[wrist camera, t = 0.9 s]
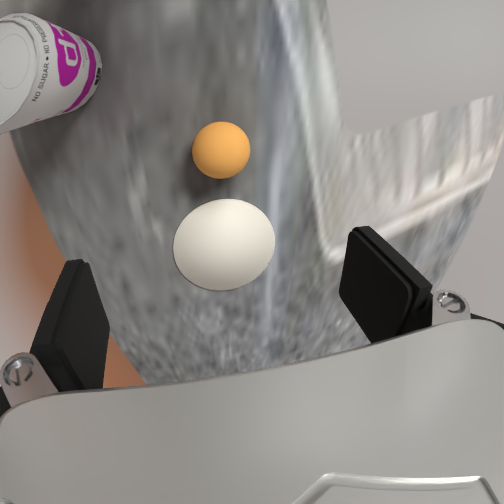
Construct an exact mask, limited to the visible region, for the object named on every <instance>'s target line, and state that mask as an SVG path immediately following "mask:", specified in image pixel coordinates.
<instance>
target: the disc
mask: <svg viewBox="0 0 504 504" xmlns="http://www.w3.org/2000/svg"><path fill="white" fill-rule="evenodd" d="M274 247H275V236H274V231H273V228H272V226H271V224H270V222H269V220H268V218H267V217H266V216H265V215H264V213H262V212H261V211H260V210H259V209H258V208H256V207H255V206H253V205H251V204H249V203H247V202H244V201H241V200H236V199H219V200H214V201H211V202H207V203H205V204H203V205H201V206H199V207H197V208H196V209H194V210H193V211H192V212H190V213H189V214H188V215H187V216H186V217H185V218H184V220H183V221H182V222H181V224H180V225H179V227H178V229H177V232H176V234H175V238H174V243H173V252H174V258H175V262H176V264H177V267H178V268H179V270H180V272H181V273H182V274H183V275H184V276H185V277H186V278H187V279H188V280H189V281H191V282H192V283H194V284H195V285H197V286H199V287H202V288H205V289H209V290H217V291H223V290H231V289H235V288H239V287H241V286H244V285H246V284H248V283H249V282H251V281H253V280H254V279H255V278H257V277H258V276H259V275H260V274H261V273H262V272H263V271H264V270H265V268H266V267H267V265H268V264H269V262H270V260H271V258H272V255H273V252H274Z"/></svg>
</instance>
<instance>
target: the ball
mask: <svg viewBox="0 0 504 504" xmlns="http://www.w3.org/2000/svg"><path fill="white" fill-rule="evenodd" d="M192 156H193V160H194V162H195V164H196V166H197V167H198V168H199V170H200V171H201V172H203V173H204V174H206V175H208V176H210V177H212V178H218V179H224V178H229V177H232V176H234V175H236V174H237V173H239V172H240V171H241V170H242V169H243V168H244V167H245V165H246V164H247V162H248V159H249V156H250V144H249V140H248V138H247V136H246V134H245V133H244V132H243V131H242V130H241V129H240V128H239V127H238V126H236V125H234V124H232V123H228V122H215V123H211V124H209V125H207V126H205V127H204V128H203V129H201V130H200V131H199V133H198V134H197V135H196V137H195V139H194V141H193V145H192Z"/></svg>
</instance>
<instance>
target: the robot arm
mask: <svg viewBox="0 0 504 504" xmlns="http://www.w3.org/2000/svg"><path fill="white" fill-rule="evenodd" d="M432 286H433V285H432V284H431V283H430V282H429V281H428V280H427V279H426V278H425V277H423V276H422V275H421V274H420V273H419V272H418V271H417V270H416V269H415V268H414V267H413V266H412V265H411V264H410V263H409V262H408V261H407V260H406V259H405V258H404V257H403V256H402V255H400V254H399V253H398V252H397V251H396V250H395V249H394V248H393V247H392V246H391V245H390V244H389V243H387V242H386V241H385V240H384V239H383V238H382V237H381V236H380V235H379V234H378V233H376V232H375V231H374V230H373V229H372V228H371V227H369V226H362V227H355V228H353V230H352V231H351V232H350V233H349V235H348V241H347V247H346V254H345V259H344V265H343V271H342V277H341V282H340V287H339V295H340V298H341V299H342V301H343V302H344V304H345V305H346V307H347V308H348V310H349V311H350V313H351V314H352V315H353V317H354V318H355V320H356V321H357V323H358V324H359V326H360V327H361V329H362V330H363V332H364V333H365V335H366V336H367V338H368V339H369V341H370V342H371V344H368V345H365V346H361V347H357V348H353V349H349V350H345V351H342V352H338V353H333V354H329V355H325V356H321V357H317V358H312V359H308V360H303V361H299V362H294V363H289V364H284V365H280V366H274V367H269V368H264V369H259V370H253V371H248V372H242V373H236V374H229V375H223V376H217V377H210V378H203V379H195V380H188V381H180V382H171V383H162V384H152V385H141V386H129V387H116V388H104V389H103V378H104V369H105V361H106V353H107V345H108V339H109V332H110V327H109V322H108V319H107V316H106V313H105V311H104V308H103V305H102V302H101V299H100V296H99V293H98V290H97V287H96V284H95V281H94V278H93V275H92V271H91V268H90V265H89V263H88V262H87V263H84V261H83V260H82V259H77V260H70V261H67V262H66V263H65V265H64V268H63V270H62V272H61V274H60V276H59V279H58V281H57V283H56V286H55V288H54V290H53V292H52V295H51V297H50V300H49V302H48V303H47V306H46V308H45V311H44V313H43V316H42V318H41V322H40V324H39V327H38V329H37V332H36V335H35V338H34V341H33V343H32V346H31V349H30V353H25V352H22V353H18V354H15V355H13V356H11V357H10V358H9V359H8V360H6V362H5V363H4V364H3V366H2V368H1V370H0V384H1V387H0V504H504V324H502V323H499V322H496V321H493V320H490V319H487V318H484V317H481V316H478V315H475V314H471V313H470V307H469V304H468V302H467V301H466V300H465V298H464V297H462V296H461V295H460V294H458V293H456V292H454V291H451V290H439V291H436V292H435V293H434V295H432V294H431V293H430V291H431V289H432Z"/></svg>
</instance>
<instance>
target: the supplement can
mask: <svg viewBox="0 0 504 504" xmlns="http://www.w3.org/2000/svg"><path fill="white" fill-rule="evenodd" d="M101 72H102V62H101V58H100V54H99V52H98V50H97V49H96V48H95V46H94V45H93V44H92V43H91V42H90V41H88V40H86V39H84V38H82V37H80V36H78V35H76V34H74V33H72V32H70V31H68V30H66V29H63V28H61V27H59V26H57V25H55V24H52V23H50V22H48V21H46V20H43V19H41V18H39V17H36V16H34V15H32V14H29V13H18V14H10V15H7V16H5V17H3V18H1V19H0V134H2V133H5V132H8V131H11V130H14V129H17V128H20V127H23V126H26V125H29V124H32V123H35V122H38V121H41V120H44V119H47V118H51V117H54V116H57V115H61V114H64V113H68V112H72V111H74V110H76V109H77V108H79V107H81V106H82V105H84V104H85V103H86V102H87V101H88V100H89V99H90V97H91V96H92V95H93V94H94V93H95V91H96V88H97V86H98V84H99V82H100V80H101Z"/></svg>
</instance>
